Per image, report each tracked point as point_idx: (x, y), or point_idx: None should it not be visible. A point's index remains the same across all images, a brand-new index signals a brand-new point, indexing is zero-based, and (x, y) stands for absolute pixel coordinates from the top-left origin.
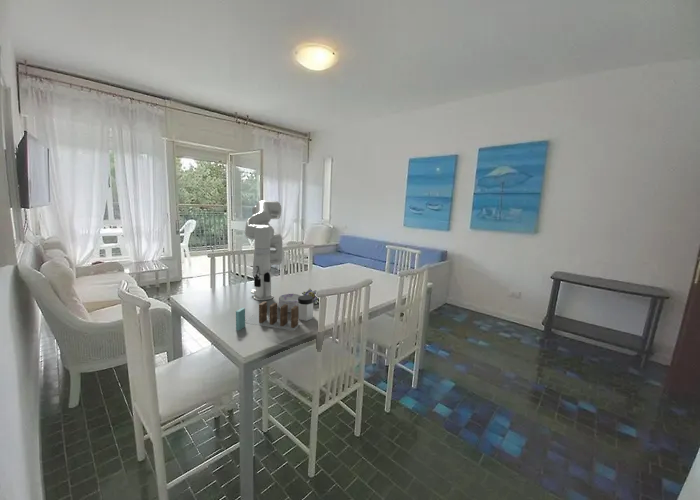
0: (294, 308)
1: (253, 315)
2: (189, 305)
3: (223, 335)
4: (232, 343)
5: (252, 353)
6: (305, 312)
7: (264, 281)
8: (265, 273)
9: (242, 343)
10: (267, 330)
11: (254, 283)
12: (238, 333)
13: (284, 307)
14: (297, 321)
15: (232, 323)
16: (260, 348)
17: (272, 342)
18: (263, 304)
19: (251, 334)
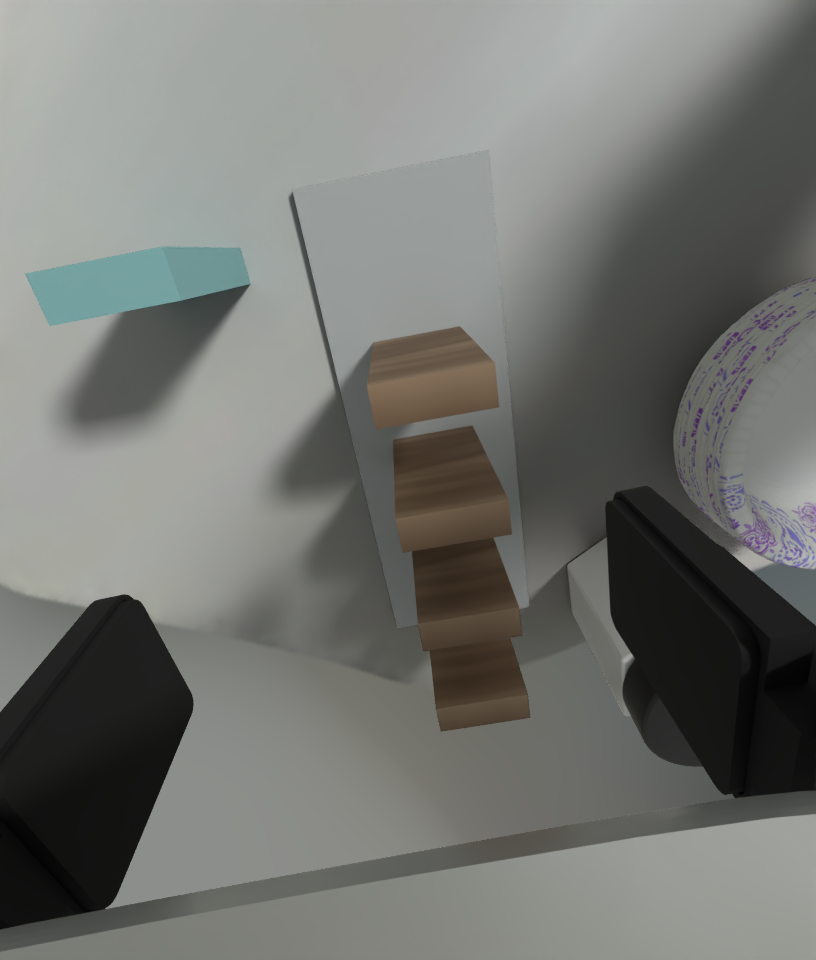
0: (460, 721)
1: (485, 161)
2: None
3: (15, 238)
4: (3, 411)
5: (33, 594)
6: (594, 652)
7: (608, 511)
8: (795, 739)
9: (58, 469)
10: (310, 483)
11: (52, 656)
12: (130, 327)
13: (444, 645)
14: None
15: (227, 91)
16: (103, 595)
17: (202, 605)
18: (410, 420)
19: (189, 429)
